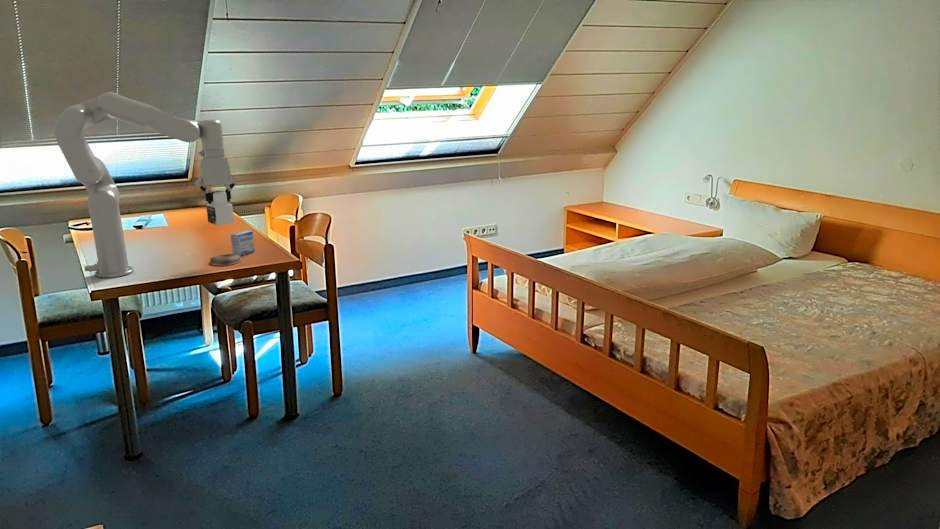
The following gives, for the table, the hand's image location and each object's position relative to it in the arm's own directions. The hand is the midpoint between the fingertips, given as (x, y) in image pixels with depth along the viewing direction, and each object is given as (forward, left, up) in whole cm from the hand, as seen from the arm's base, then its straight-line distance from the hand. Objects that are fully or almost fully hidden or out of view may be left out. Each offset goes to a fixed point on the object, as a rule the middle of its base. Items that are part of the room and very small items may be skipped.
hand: (218, 201), depth 261 cm
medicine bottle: (0, 0, -8) cm, 8 cm away
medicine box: (+9, +9, -24) cm, 27 cm away
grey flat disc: (0, 0, -23) cm, 23 cm away
